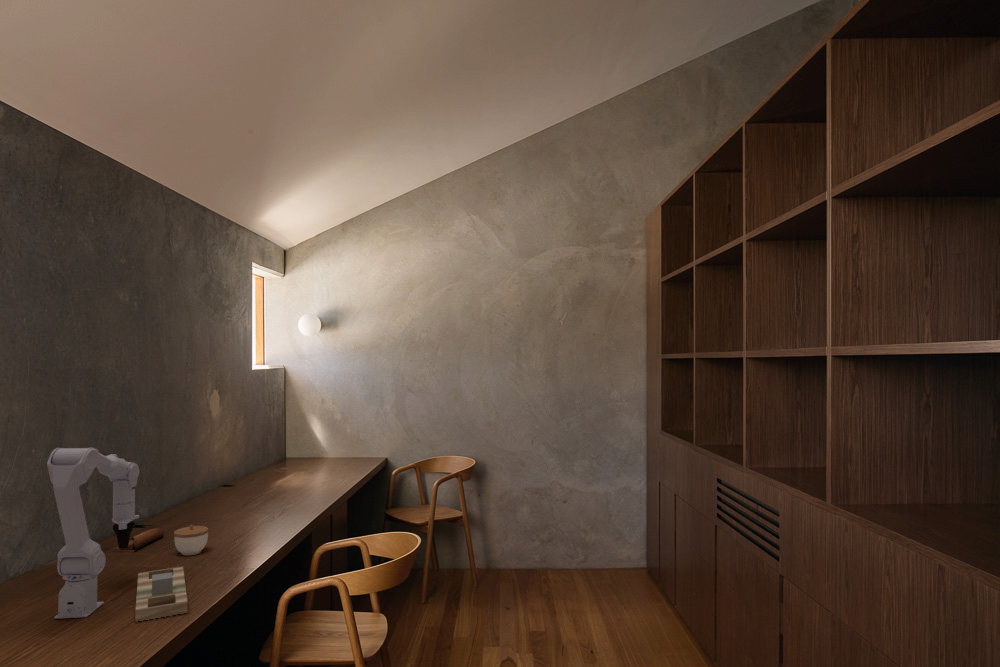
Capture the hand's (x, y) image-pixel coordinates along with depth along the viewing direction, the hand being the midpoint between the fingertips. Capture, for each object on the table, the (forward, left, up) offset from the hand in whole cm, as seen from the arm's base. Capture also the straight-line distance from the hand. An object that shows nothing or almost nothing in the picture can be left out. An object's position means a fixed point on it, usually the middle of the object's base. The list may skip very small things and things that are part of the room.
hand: (123, 548), depth 194 cm
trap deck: (-13, -16, -10) cm, 23 cm away
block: (-17, -17, -7) cm, 25 cm away
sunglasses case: (+41, +12, -11) cm, 44 cm away
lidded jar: (+28, -10, -11) cm, 32 cm away
